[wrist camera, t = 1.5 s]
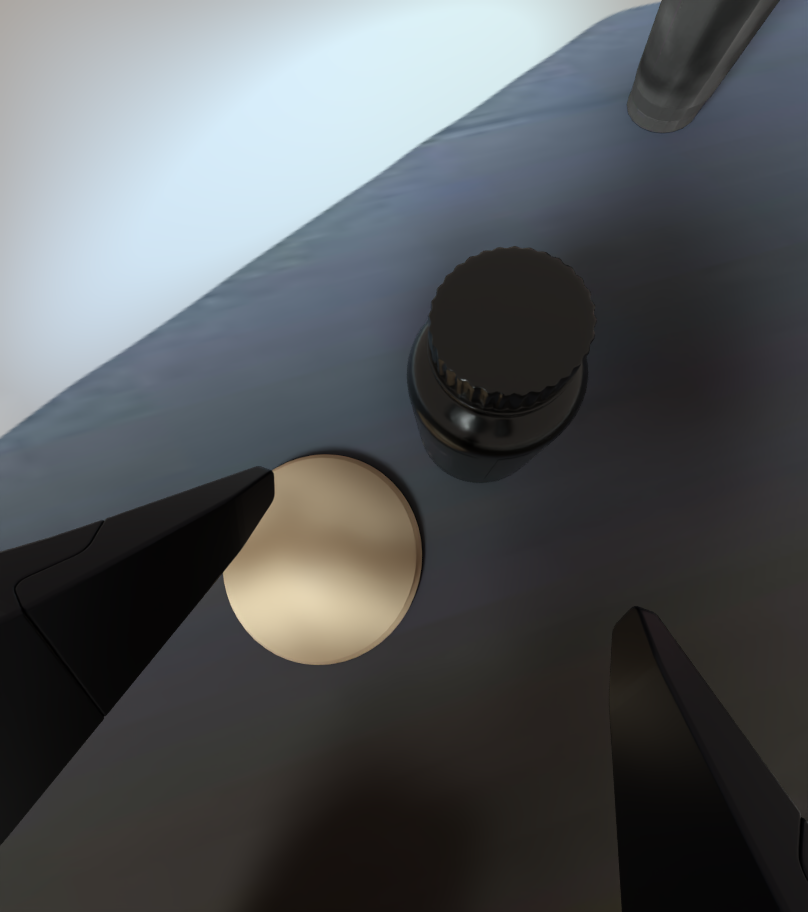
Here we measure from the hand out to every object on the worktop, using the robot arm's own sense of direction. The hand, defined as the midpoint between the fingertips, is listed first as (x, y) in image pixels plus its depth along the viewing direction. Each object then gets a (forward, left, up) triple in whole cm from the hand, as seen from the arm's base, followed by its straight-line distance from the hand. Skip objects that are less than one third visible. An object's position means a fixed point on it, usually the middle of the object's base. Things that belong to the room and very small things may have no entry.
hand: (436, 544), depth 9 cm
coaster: (0, +7, -13) cm, 14 cm away
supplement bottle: (+6, -3, -13) cm, 14 cm away
